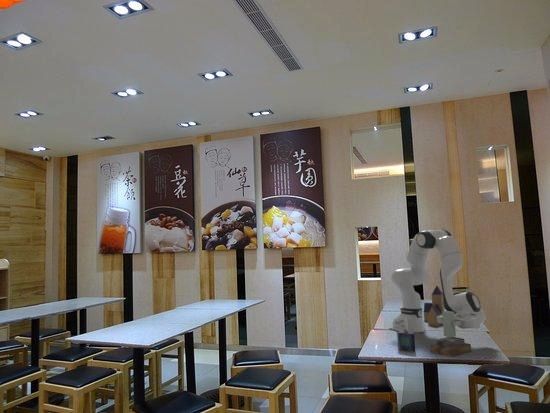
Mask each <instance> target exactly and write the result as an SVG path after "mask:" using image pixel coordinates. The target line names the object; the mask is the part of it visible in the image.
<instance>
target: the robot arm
mask: <svg viewBox="0 0 550 413" xmlns="http://www.w3.org/2000/svg"><path fill="white" fill-rule="evenodd" d="M431 249H432V250H433V249H436V250H438V253H439V256H440V259H441V267H440V270H439V278H440V284H441V292H442V293H443V305H444V310H445V311H450V312H454V319H455V322H451V323H452V326H455V327H456V326H457V327H458V328H460V329H462V330H464V329H480V328H481V325H482V324H483V323H484V322H485V321H486V318H487V314H486V312H485V311H484V309H482V308H481V302H480V299H479V297H478V296H477V295H476V294H475V293H474V292H472V291H469V290H468V291H465V292H464V291H463V292H460V293H458V294H454V291H453V286H452V285H453V284H452V278H453V277H454V275H455V274H456V273H457V272H458V271H460V270H461V268H462V267H463V265H464V257H463V254H462V251H461V248H460V246H459V244H458V242H457V241H456V239H455V237H453V236H452V234H451V233H450V232H449V230H446V229H428V230H422V231H420V232H418V233H417V234H415V236H414V237H413V239H412V241H411V242H410V245H409V248H408V252H407V255H406V260H407V263H409V267H406V268H404V267H403V268H399V269H395V270H393V271H392V273H391V276H390V277H391V278H390V279H391V281H392V283H393V285H394V286H396V287H397V288H398V289H399V292H400V295H401V299H402V307H401V308H399V310H400V313H399V314H398V315H397V316H396V317H394V318H393V319H392V320H393V322H392V325H391V326H388V327H389V330H393V331H397V332H404V330H405V329H407V331H408V333H414V334H415V333H425V332H426V328H425V325H424V318H423V308H422V303H421V302H422V301H421V295H420V294H419V292H417V291H415V288H414V286H419V285H424V284H426V283H428V281H429V278H430V276H429V272H428V271H427V269H426V268H425V263H426V259H427V257H428V255H429V254H428V253H429V251H430V250H431ZM437 322H438V323H441V324H440V325H443V317H442V315H440V316H437Z"/></svg>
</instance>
